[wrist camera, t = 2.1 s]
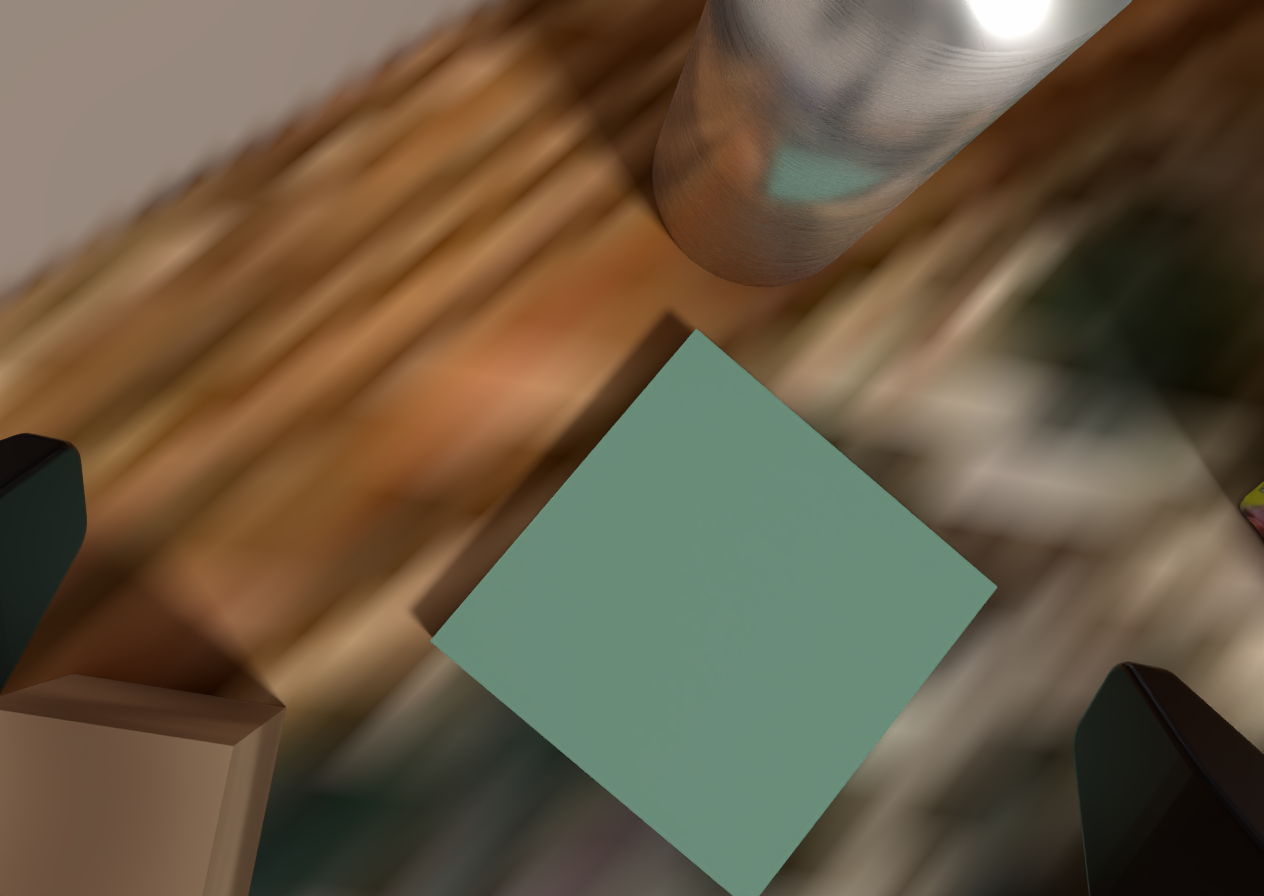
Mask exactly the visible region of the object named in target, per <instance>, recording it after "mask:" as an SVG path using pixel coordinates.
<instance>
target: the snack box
mask: <svg viewBox="0 0 1264 896" xmlns="http://www.w3.org/2000/svg"><path fill="white" fill-rule="evenodd" d="M1240 509H1241V511H1242V513H1243V515H1244V516H1245V517H1246V518H1247V519H1248V520H1249V521H1250V522H1251V523H1252V524H1253V525H1254V526H1255V527H1256V529H1257V530H1258V531H1259V533H1260V534H1261V535H1262V537H1263V538H1264V481H1263V482H1262V483H1261V484H1260V485H1259V486H1257V487H1256V488H1255V489H1254V490H1253V491H1251V492H1250V493H1249V494H1248V495H1246V496H1245V498H1244V499H1243V501H1242V502H1241V505H1240Z"/></svg>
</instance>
